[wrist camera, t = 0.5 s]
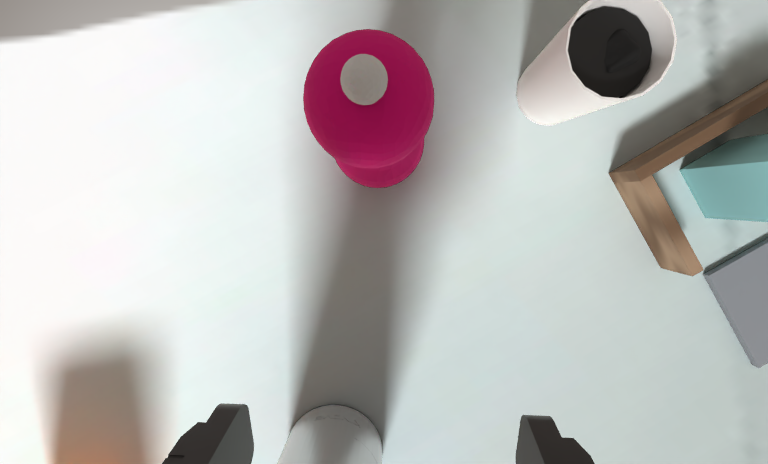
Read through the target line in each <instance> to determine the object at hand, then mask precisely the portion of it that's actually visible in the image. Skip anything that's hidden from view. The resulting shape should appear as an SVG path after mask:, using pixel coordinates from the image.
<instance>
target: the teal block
mask: <svg viewBox="0 0 768 464" xmlns="http://www.w3.org/2000/svg"><path fill="white" fill-rule="evenodd" d="M680 172H681V174H682V175H683V177H684V179H685V181H686V183H687V185H688V187H689V189H690V190H691V192H692V194H693V196H694V198H695V200H696V202H697V203H698V205H699V207H700V209H701V211H702V213H703V215H704V217H705V218H715V219H730V220H746V221H761V222H768V134H763V135H757V136H751V137H745V138H739V139H733V140H730V141H728V142H726V143H725V144H723V145H721V146H720V147H718V148H716V149H714V150H713V151H711V152H709V153H708V154H706V155H704V156H702V157H701V158H699V159H697V160H696V161H694V162H692V163H690V164H689V165H687V166H685V167H684V168H682V169H680Z"/></svg>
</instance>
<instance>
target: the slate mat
mask: <svg viewBox="0 0 768 464" xmlns="http://www.w3.org/2000/svg"><path fill="white" fill-rule="evenodd" d="M703 275H704V277H705V279H706V281H707V282H708V284H709V286H710V288H711V290H712V292H713V293H714V295H715V297H716V299H717V301H718V303H719V304H720V306H721V308H722V310H723V312H724V314H725V316H726V317H727V319H728V321H729V323H730V325H731V327H732V328H733V330H734V332H735V334H736V336H737V338H738V339H739V341H740V343H741V345H742V347H743V349H744V350H745V352H746V354H747V356H748V358H749V360H750V362H751V363H752V365H754V366H756V367H758V368H760V367H761V366H763V365H765V364H767V363H768V238H767V239H765V240H764V241H762V242H760V243H758V244H756V245H755V246H753V247H751V248H749V249H748V250H746V251H744V252H742V253H740V254H739V255H737V256H735V257H733V258H731V259H730V260H728V261H726V262H724V263H723V264H721V265H719V266H717V267H715V268H714V269H712V270H710V271H708V272H706V273H705V274H703Z"/></svg>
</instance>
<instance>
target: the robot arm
mask: <svg viewBox="0 0 768 464" xmlns="http://www.w3.org/2000/svg"><path fill="white" fill-rule="evenodd" d="M253 451H254V442H253V435H252V429H251V422H250V416H249V410H248V406H247V405H244V404H219V405H218V406H217V407H216V408H215V410H214V411H213V413H212V414H211V416H210V418H209V419H208V421H207V422H206V423H202V422H198V423H197V424H196V425H194V426H193V427H192V428H191V429H190V430H189V431H187V432H186V433H185V434H184V435H183V436H181V437H180V439H179V440H178V442H177V443H176V445H175V446H174V447H173V449H172V450H171V452H170V453H169V455H168V458H166V459H165V460H164V462H163V463H162V464H251V461H252V457H253ZM277 464H382V443H381V440H380V436H379V434H378V432H377V430H376V428H375V426H374V425H373V424H372V423H371V421H370V420H369V419H368V418H367V417H365V416H364V415H363V414H362V413H360V412H358V411H356V410H354V409H352V408H349V407H345V406H342V405H327V406H321V407H318V408H315V409H313V410H311V411H309V412H308V413H306V414H304V415H303V416H302V417H301V418H300V419H299V420H298V421H297V422H296V424H295V425H294V427H293V428H292V430H291V432H290V435H289V437H288V439H287V442H286V444H285V447H284V449H283V451H282V454H281V456H280V458H279V460H278V462H277ZM516 464H594V462H593V460H592V458H591V456H590V455H589V454H588V453H587V452H586V451H585V450H584V449H583V448H582V447H581V446H580V445H579V443H578V442H577V441H576V440H575V439H574V438H562V437H561V435H560V433H559V431H558V429H557V427H556V425H555V422H554V421H553V419H552V418H551V417H550V416H533V415H523V416H522V417H521V421H520V428H519V436H518V443H517V450H516Z"/></svg>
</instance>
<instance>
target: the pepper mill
mask: <svg viewBox="0 0 768 464" xmlns="http://www.w3.org/2000/svg"><path fill="white" fill-rule="evenodd" d="M303 100H304V111H305V115H306V119H307V123H308V125H309V127H310V130H311V132H312V134H313V135H314V137H315V138H316V140H317V141H318V143H319V144H320V145H321V146H322V147H323V148H324V150H325V151H327V152H328V153H329V154H330V155H331V156H333V157H334V158H335V160H336V162H337V164H338V165H339V167H340V168H341V170H342V171H343V172H344V173H345V174H346V175H347V176H348V177H349V178H350V179H352V180H353V181H355V182H357V183H359V184H361V185H363V186H367V187H373V188H382V187H389V186H392V185H395V184H397V183H399V182H401V181H403V180H404V179H405V178H407V177H408V176H409V175H410V174H411V173H412V172H413V171H414V169H415V168H416V167H417V165H418V163H419V161H420V159H421V156H422V153H423V148H424V136H425V135H426V133H427V131H428V129H429V126H430V123H431V120H432V117H433V109H434V89H433V84H432V80H431V77H430V74H429V71H428V69H427V67H426V65H425V63H424V61H423V60H422V58H421V57H420V56H419V55H418V53H417V52H416V51H415V50H414V49H413V48H412V47H411V46H410V45H409V44H407V43H406V42H405V41H404V40H402V39H400V38H398V37H396V36H395V35H393V34H390V33H387V32H383V31H380V30H370V29H366V30H356V31H352V32H349V33H346V34H344V35H342V36H340V37H338V38H336V39H334V40H332V41H331V42H330V43H329V44H328V45H326V46H325V47H324V48H323V49H322V50H321V51H320V53H319V54H318V55H317V57H316V58H315V59H314V61H313V63H312V65H311V67H310V69H309V71H308V74H307V77H306V81H305V85H304V96H303Z"/></svg>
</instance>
